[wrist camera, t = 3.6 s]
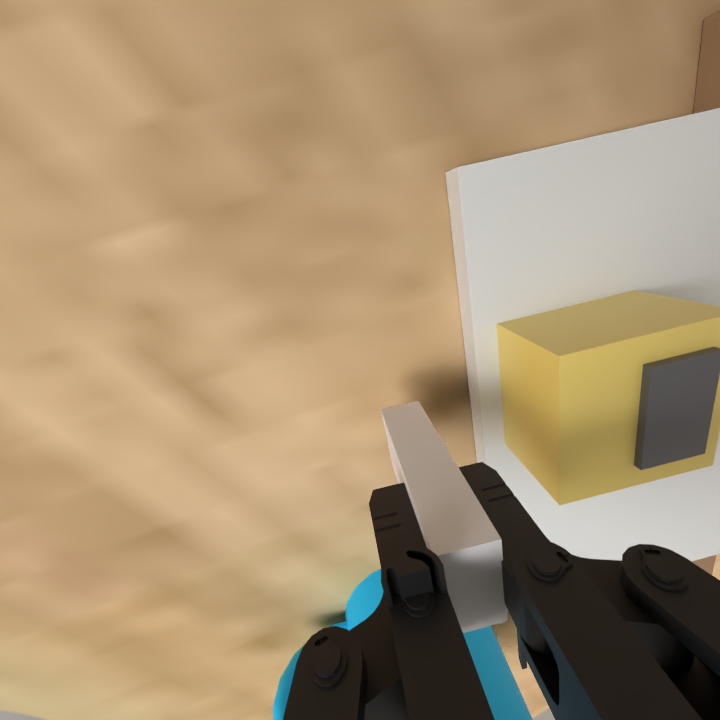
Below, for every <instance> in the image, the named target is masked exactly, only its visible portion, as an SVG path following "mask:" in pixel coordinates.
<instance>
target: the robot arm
mask: <svg viewBox="0 0 720 720" xmlns="http://www.w3.org/2000/svg"><path fill="white" fill-rule="evenodd" d="M381 412H382V417H383V422H384V427H385V432H386V436H387V441H388V446H389V451H390V455H391V460H392V465H393V469H394V472H395V475H396V478H397V481H398V484H396V485H392V486H388V487H384V488H380V489H376V490H373V492H372V496H371V499H370V502H369V506H370V511H371V517H372V522H373V527H374V532H375V537H376V543H377V548H378V553H379V558H380V563H381V584H382V588H383V596H382V598H381V601H380V603H379V605H378V607H377V608H376V609H375V611H374V612H373V613H372V614H371V615H370V616H369V617H368V618H366V619H365V620H364V621H362V622H361V623H359V624H358V625H357V626H355V627H354V628H352V629H351V630H347V629H346V628H341V627H337V626H333V627H328V628H324V629H322V630H320V631H319V632H317V633H316V634H314V635H313V636H311V638H310V639H309V640H308V641H307V643H306V644H305V645H304V646H303V648H302V650H301V652H300V655H299V657H298V660H297V662H296V666H295V671H294V675H293V679H292V683H291V687H290V691H289V696H288V700H287V704H286V708H285V712H284V717H283V720H495V719H494V716H493V714H492V711H491V708H490V706H489V703H488V700H487V697H486V695H485V692H484V689H483V686H482V684H481V681H480V678H479V676H478V673H477V670H476V667H475V665H474V662H473V659H472V656H471V654H470V651H469V648H468V646H467V643H466V640H465V637H464V635H463V633H466V632H470V631H473V630H477V629H481V628H485V627H488V626H492V625H496V624H500V623H503V622H507V621H508V618H507V609H508V611H509V613H510V615H511V617H512V619H513V621H514V623H515V625H516V627H517V636H518V652H519V660H520V663H521V667H522V669H525V668H527V662H528V664H529V666H530V668H531V670H532V672H533V674H534V677H535V679H536V681H537V683H538V685H539V687H540V689H541V691H542V693H543V695H544V697H545V699H546V701H547V703H548V705H549V707H550V709H551V711H552V713H553V716H554V718H555V720H720V580H718V579H717V578H715V577H714V576H712V575H711V574H709V573H708V572H706V571H705V570H703V569H702V568H700V567H699V566H697V565H696V564H694V563H693V562H691V561H690V560H688V559H687V558H685V557H683V556H681V555H680V554H678V553H676V552H674V551H672V550H670V549H667V548H664V547H660V546H657V545H651V544H638V545H635V546H631V547H629V548H628V549H627V550H626V551H625V552H624V553H623V554H622V561H620V560H603V559H589V558H582V557H578V556H575V555H572V554H570V553H569V552H568V551H567V550H566V549H564V548H563V547H561V546H559V545H557V544H555V543H553V542H550V540H549V539H548V538H547V537H546V536H545V535H544V534H543V532H542V531H541V530H540V528H539V527H538V526H537V524H536V523H535V522H534V520H533V519H532V518H531V516H530V515H529V514H528V512H527V511H526V510H525V508H524V507H523V506H522V504H521V503H520V502H519V500H518V499H517V498H516V496H514V494H513V492H512V491H511V490H510V488H509V487H508V486H507V485H506V483H505V482H504V480H503V479H502V478H501V476H500V475H499V474H498V472H497V471H496V470H494V469H493V468H491V467H490V466H488V465H486V464H485V463H483V462H479V463H475V464H471V465H467V466H463V467H459V468H458V466H457V464H456V463H455V461H454V459H453V458H452V456H451V454H450V453H449V451H448V449H447V448H446V446H445V444H444V443H443V441H442V439H441V438H440V436H439V434H438V433H437V431H436V429H435V428H434V426H433V424H432V423H431V421H430V419H429V418H428V416H427V414H426V413H425V411H424V409H423V408H422V406H421V404H420V403H419V401H415V402H411V403H407V404H403V405H398V406H394V407H390V408H386V409H382V410H381Z"/></svg>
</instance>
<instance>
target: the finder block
mask: <svg viewBox="0 0 720 720" xmlns="http://www.w3.org/2000/svg"><path fill="white" fill-rule="evenodd" d="M496 326H497V340H498V354H499V368H500V382H501V396H502V410H503V424H504V438H505V444H506V446H507V447H508V448H509V449H510V450H511V451H512V452H513V453H514V455H515V456H516V457H517V458H518V459H519V460H520V461H521V463H522V464H523V465H524V466H525V467H526V468H527V469H528V470H529V472H530V473H531V474H532V475H533V476H534V477H535V478H536V480H537V481H538V482H539V483H540V484H541V485H542V486H543V487H544V489H545V490H546V491H547V492H548V493H549V494H550V495H551V497H552V498H553V499H554V500H555V501H556V502H557V503H558V504H559V506H560V505H564V504H568V503H571V502H575V501H579V500H583V499H587V498H590V497H594V496H598V495H602V494H606V493H610V492H613V491H617V490H621V489H625V488H629V487H632V486H636V485H640V484H644V483H648V482H651V481H655V480H659V479H663V478H667V477H671V476H674V475H678V474H682V473H686V472H690V471H693V470H697V469H701V468H705V467H709V466H712V465H713V463H714V457H715V452H716V447H717V442H718V437H719V432H720V306H715V305H710V304H705V303H699V302H694V301H689V300H683V299H678V298H673V297H667V296H662V295H657V294H652V293H646V292H641V291H636V290H633V291H629V292H625V293H621V294H617V295H613V296H609V297H604V298H600V299H596V300H592V301H588V302H584V303H580V304H576V305H571V306H567V307H563V308H559V309H555V310H551V311H547V312H543V313H538V314H534V315H530V316H526V317H522V318H518V319H514V320H510V321H506V322H501V323H497V324H496Z"/></svg>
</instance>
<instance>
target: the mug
mask: <svg viewBox="0 0 720 720" xmlns="http://www.w3.org/2000/svg"><path fill="white" fill-rule="evenodd" d="M382 596H383V588H382V584H381V569H380V570H378V571H376V572H374V573H372V574H371V575H369V576H368V577H367V578H366V579H365V580H364V581H363V582H361V583H360V584H359V585H358V586H357V587H356V588H355V590H354V592H353V593H352V595H351V597H350V598H349V600H348V601H347V607H346V613H345V621H344V622H340V623H337V624H334V625H332V626H330V627H333V626H337V627H341V628H346V629H347V630H351V629H352V628H354V627H355V626H357V625H358V624H359V623H361V622H362V621H364V620H365V619H366V618H368V617H369V616H370V615H371V614H372V613H373V612H374V611H375V609H376V608H377V607H378V605H379V603H380V601H381V598H382ZM463 635H464V637H465V640H466V643H467V646H468V648H469V651H470V654H471V656H472V659H473V662H474V665H475V667H476V670H477V673H478V676H479V678H480V681H481V684H482V686H483V689H484V692H485V695H486V697H487V700H488V703H489V706H490V708H491V711H492V714H493V716H494V719H495V720H532V717H531V715H530V713H529V711H528V708H527V706H526V704H525V702H524V699H523V697H522V695H521V693H520V690H519V688H518V686H517V683H516V681H515V679H514V677H513V674H512V672H511V670H510V668H509V665H508V663H507V661H506V659H505V656H504V654H503V652H502V650H501V647H500V645H499V643H498V640H497V638H496V636H495V634H494V631H493V629H492V627H491V626H488V627H485V628H481V629H477V630H473V631H470V632H466V633H463ZM302 648H303V647H302ZM302 648H301V649H300V650H299V651H298V652H296V653H295V654H294V656H293V658H292V659H291V661H290V663H289V665H288V666H287V668H286V670H285V671H284V673H283V675H282V677H281V678H280V681H279V685H278V689H277V693H276V697H275V702H274V706H273V718H274V720H283V717H284V712H285V708H286V704H287V700H288V696H289V691H290V687H291V683H292V679H293V675H294V671H295V666H296V662H297V660H298V657H299V655H300V652H301V650H302Z"/></svg>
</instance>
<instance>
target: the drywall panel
mask: <svg viewBox="0 0 720 720" xmlns="http://www.w3.org/2000/svg"><path fill="white" fill-rule="evenodd" d="M445 174H446V183H447V192H448V202H449V211H450V220H451V229H452V238H453V247H454V257H455V266H456V275H457V284H458V293H459V302H460V312H461V321H462V330H463V339H464V348H465V357H466V367H467V376H468V385H469V394H470V403H471V412H472V422H473V431H474V440H475V449H476V458H477V463H479V462H483V463H485V464H486V465H488V466H490V467H491V468H493V469H494V470H496V471H497V472H498V474H499V475H500V476H501V478H502V479H503V480H504V482H505V483H506V485H507V486H508V487H509V488H510V490H511V491H512V492H513V494H514V496H516V498H517V499H518V500H519V502H520V503H521V504H522V506H523V507H524V508H525V510H526V511H527V512H528V514H529V515H530V516H531V518H532V519H533V520H534V522H535V523H536V524H537V526H538V527H539V528H540V530H541V531H542V532H543V534H544V535H545V536H546V537H547V538H548V539H549V540H550V542H553V543H555V544H557V545H559V546H561V547H563V548H564V549H566V550H567V551H568V552H569V553H570V554H572V555H575V556H578V557H582V558H589V559H603V560H620V561H622V554H623V553H624V552H625V551H626V550H627V549H628V548H629V547H631V546H635V545H638V544H651V545H657V546H660V547H664V548H667V549H670V550H672V551H674V552H676V553H678V554H680V555H681V556H683V557H685V558H687V559H688V560H690V561H691V562H693V563H694V564H696V565H697V566H699V567H700V568H702V569H703V570H705V571H706V572H708V573H709V574H711V575H712V572H713V567H714V563H715V558H716V555H717V554H720V432H719V437H718V442H717V447H716V452H715V457H714V463H713V465H712V466H709V467H705V468H701V469H697V470H693V471H690V472H686V473H682V474H678V475H674V476H671V477H667V478H663V479H659V480H655V481H651V482H648V483H644V484H640V485H636V486H632V487H629V488H625V489H621V490H617V491H613V492H610V493H606V494H602V495H598V496H594V497H590V498H587V499H583V500H579V501H575V502H571V503H568V504H564V505H560V506H559V504H558V503H557V502H556V501H555V500H554V499H553V498H552V497H551V495H550V494H549V493H548V492H547V491H546V490H545V489H544V487H543V486H542V485H541V484H540V483H539V482H538V481H537V480H536V478H535V477H534V476H533V475H532V474H531V473H530V472H529V470H528V469H527V468H526V467H525V466H524V465H523V464H522V463H521V461H520V460H519V459H518V458H517V457H516V456H515V455H514V453H513V452H512V451H511V450H510V449H509V448H508V447H507V446H506V444H505V438H504V424H503V410H502V396H501V382H500V368H499V354H498V340H497V326H496V324H497V323H501V322H506V321H510V320H514V319H518V318H522V317H526V316H530V315H534V314H538V313H543V312H547V311H551V310H555V309H559V308H563V307H567V306H571V305H576V304H580V303H584V302H588V301H592V300H596V299H600V298H604V297H609V296H613V295H617V294H621V293H625V292H629V291H633V290H636V291H641V292H646V293H652V294H657V295H662V296H667V297H673V298H678V299H683V300H689V301H694V302H699V303H705V304H710V305H715V306H720V11H719V12H717V13H715V14H713V15H711V16H709V17H708V18H706V19H704V24H703V33H702V41H701V50H700V58H699V67H698V75H697V84H696V92H695V101H694V110H693V114H690V115H686V116H682V117H677V118H673V119H668V120H664V121H660V122H655V123H651V124H646V125H642V126H637V127H633V128H629V129H624V130H620V131H615V132H611V133H607V134H602V135H598V136H593V137H589V138H584V139H580V140H576V141H571V142H567V143H562V144H558V145H554V146H549V147H545V148H540V149H536V150H531V151H527V152H523V153H518V154H514V155H509V156H505V157H501V158H496V159H492V160H487V161H483V162H478V163H474V164H470V165H465V166H461V167H457V168H455V169H452V170H450V171H448V172H446V173H445ZM507 611H508V609H507Z"/></svg>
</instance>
